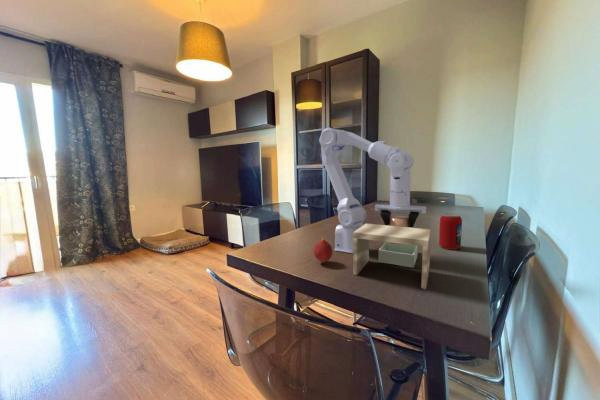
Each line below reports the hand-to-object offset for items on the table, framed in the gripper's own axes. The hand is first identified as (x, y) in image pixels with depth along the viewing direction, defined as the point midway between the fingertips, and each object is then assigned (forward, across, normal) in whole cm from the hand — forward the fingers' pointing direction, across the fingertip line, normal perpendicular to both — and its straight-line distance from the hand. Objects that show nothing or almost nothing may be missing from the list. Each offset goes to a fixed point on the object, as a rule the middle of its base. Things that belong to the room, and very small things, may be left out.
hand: (398, 234), depth 77 cm
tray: (+8, 0, +2) cm, 8 cm away
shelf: (+8, 0, -11) cm, 14 cm away
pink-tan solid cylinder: (+2, 0, 0) cm, 2 cm away
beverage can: (+8, +14, +21) cm, 27 cm away
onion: (+8, -20, -13) cm, 25 cm away
